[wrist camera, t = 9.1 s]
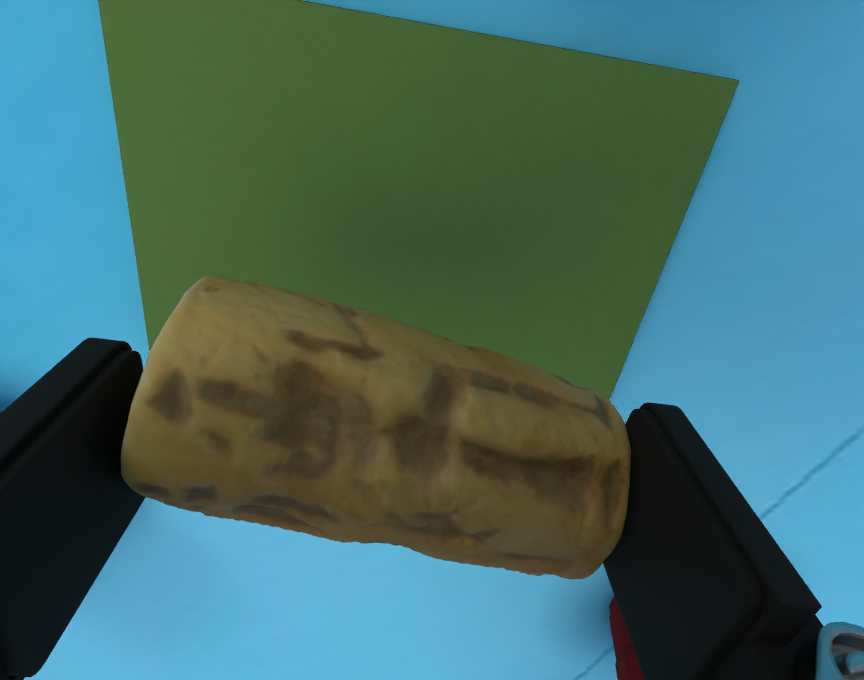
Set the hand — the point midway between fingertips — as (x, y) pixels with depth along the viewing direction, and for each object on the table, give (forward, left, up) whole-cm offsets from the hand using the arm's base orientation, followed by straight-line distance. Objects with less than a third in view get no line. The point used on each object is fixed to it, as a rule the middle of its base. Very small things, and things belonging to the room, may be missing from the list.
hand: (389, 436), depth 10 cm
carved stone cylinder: (0, 0, -2) cm, 2 cm away
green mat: (0, 0, -11) cm, 11 cm away
